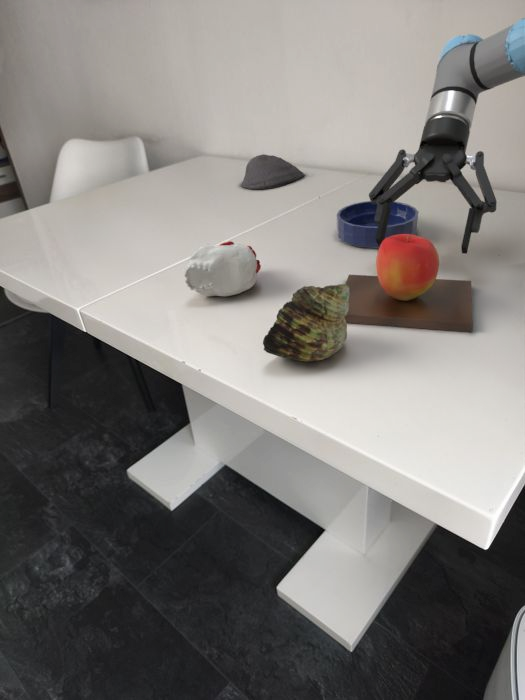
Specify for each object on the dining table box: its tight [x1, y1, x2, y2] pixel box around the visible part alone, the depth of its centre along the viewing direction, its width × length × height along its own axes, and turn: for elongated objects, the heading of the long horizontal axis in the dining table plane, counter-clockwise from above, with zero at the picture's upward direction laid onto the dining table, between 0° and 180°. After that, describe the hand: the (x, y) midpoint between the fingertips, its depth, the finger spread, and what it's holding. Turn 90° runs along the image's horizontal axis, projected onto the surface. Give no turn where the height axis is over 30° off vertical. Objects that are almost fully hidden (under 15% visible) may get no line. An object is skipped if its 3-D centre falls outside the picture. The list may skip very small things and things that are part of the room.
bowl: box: [336, 200, 420, 249], centre depth 111 cm, size 16×16×4 cm
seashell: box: [262, 283, 350, 363], centre depth 74 cm, size 11×11×10 cm
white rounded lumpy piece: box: [184, 240, 262, 297], centre depth 94 cm, size 9×11×15 cm
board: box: [344, 274, 474, 333], centre depth 86 cm, size 20×14×2 cm
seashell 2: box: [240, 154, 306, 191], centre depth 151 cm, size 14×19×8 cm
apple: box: [375, 234, 440, 301], centre depth 83 cm, size 10×10×10 cm
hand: (420, 246), depth 87 cm, fingers open, 13 cm apart
